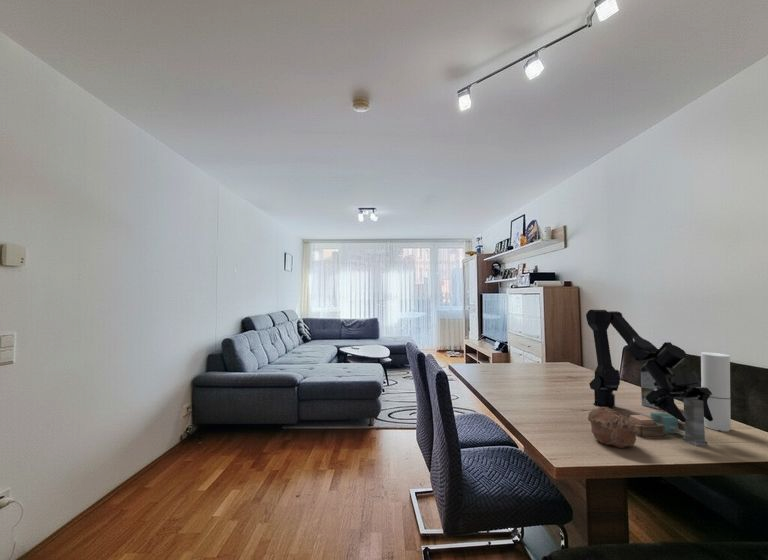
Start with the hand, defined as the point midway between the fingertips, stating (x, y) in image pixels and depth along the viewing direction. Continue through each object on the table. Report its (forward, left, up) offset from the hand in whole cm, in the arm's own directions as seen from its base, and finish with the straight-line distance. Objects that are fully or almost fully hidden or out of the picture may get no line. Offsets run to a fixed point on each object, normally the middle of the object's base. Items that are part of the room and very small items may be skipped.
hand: (698, 421), depth 103 cm
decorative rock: (-20, -16, -7) cm, 27 cm away
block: (-14, +1, -7) cm, 16 cm away
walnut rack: (-11, +4, -7) cm, 14 cm away
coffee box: (-12, +40, -7) cm, 42 cm away
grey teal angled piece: (-5, +4, -7) cm, 9 cm away
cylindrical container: (+5, +23, -7) cm, 24 cm away
